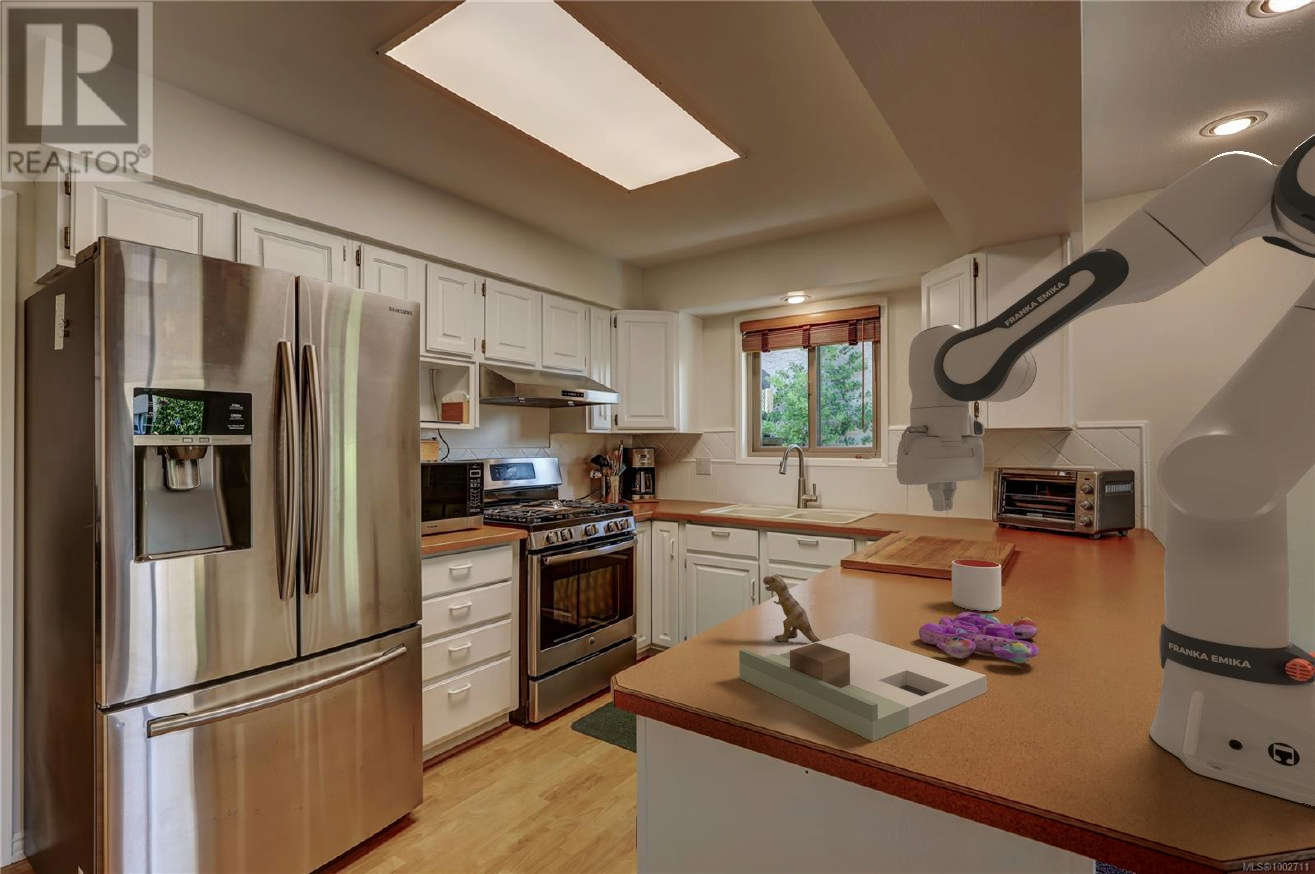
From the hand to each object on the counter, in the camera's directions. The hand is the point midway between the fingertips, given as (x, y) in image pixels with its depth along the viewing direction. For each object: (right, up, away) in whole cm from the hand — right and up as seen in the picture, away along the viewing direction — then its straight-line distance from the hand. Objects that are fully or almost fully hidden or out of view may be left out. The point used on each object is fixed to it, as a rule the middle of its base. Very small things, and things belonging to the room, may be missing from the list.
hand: (943, 510), depth 99 cm
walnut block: (-23, -24, -11) cm, 35 cm away
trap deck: (-16, -26, -5) cm, 31 cm away
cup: (+26, -27, +39) cm, 54 cm away
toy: (-20, -27, +16) cm, 37 cm away
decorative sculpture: (+14, -27, +13) cm, 33 cm away
